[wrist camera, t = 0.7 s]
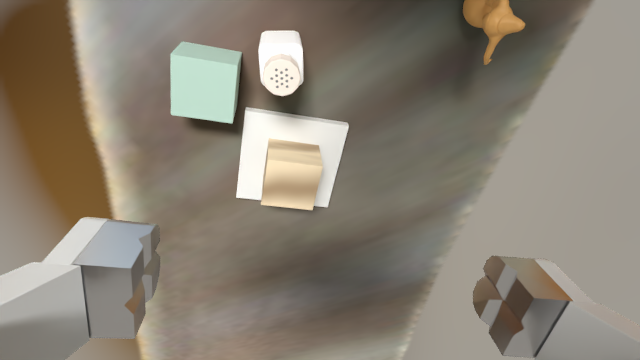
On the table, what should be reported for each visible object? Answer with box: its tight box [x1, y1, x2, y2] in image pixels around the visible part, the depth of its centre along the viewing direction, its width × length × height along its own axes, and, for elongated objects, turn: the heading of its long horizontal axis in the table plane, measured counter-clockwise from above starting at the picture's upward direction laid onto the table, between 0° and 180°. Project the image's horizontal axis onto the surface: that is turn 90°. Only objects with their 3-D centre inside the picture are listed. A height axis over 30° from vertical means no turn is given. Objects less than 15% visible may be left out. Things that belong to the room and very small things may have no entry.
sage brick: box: [171, 42, 242, 123], centre depth 38 cm, size 6×6×5 cm
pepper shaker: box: [258, 31, 303, 96], centre depth 36 cm, size 4×4×10 cm
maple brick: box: [261, 138, 323, 210], centre depth 44 cm, size 6×6×5 cm
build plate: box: [236, 107, 349, 207], centre depth 47 cm, size 12×12×1 cm
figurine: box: [463, 0, 525, 65], centre depth 34 cm, size 8×6×12 cm
